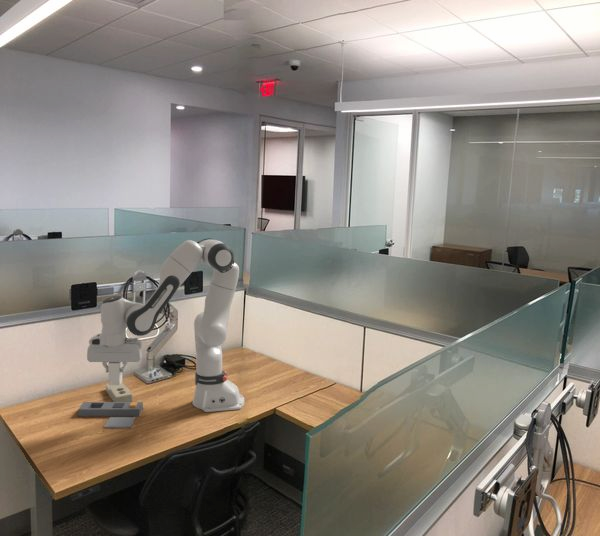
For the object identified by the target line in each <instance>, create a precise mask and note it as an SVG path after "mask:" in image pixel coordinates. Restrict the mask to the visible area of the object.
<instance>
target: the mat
mask: <svg viewBox="0 0 600 536" xmlns="http://www.w3.org/2000/svg"><path fill="white" fill-rule="evenodd" d="M108 418H109V419H108V420H107V422H106V423H105V424H104V427H103V428H104V429H131V428H132V426H133V425H134V422H135V421H134V420H136V419H135V418H136V416H109V417H108Z"/></svg>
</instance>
